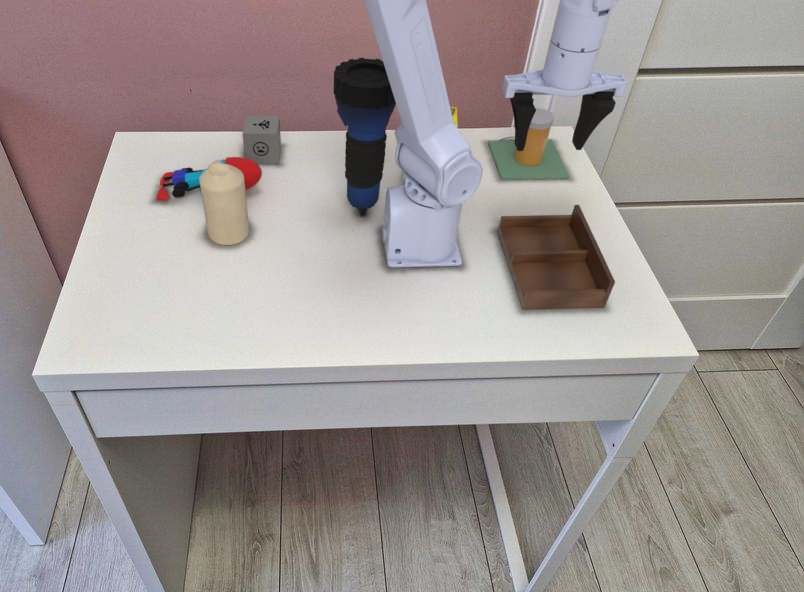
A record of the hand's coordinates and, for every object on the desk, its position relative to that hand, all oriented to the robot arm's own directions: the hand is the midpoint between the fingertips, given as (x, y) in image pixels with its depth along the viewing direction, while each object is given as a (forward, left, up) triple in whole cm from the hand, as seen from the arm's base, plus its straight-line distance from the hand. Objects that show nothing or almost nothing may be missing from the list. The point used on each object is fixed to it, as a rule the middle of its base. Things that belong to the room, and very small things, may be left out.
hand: (547, 146), depth 90 cm
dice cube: (-38, +14, -10) cm, 42 cm away
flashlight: (-24, -1, -10) cm, 26 cm away
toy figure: (-45, +5, -10) cm, 46 cm away
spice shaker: (+2, +11, -9) cm, 15 cm away
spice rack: (-1, -13, -9) cm, 16 cm away
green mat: (+2, +11, -9) cm, 15 cm away
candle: (-42, -5, -10) cm, 43 cm away
